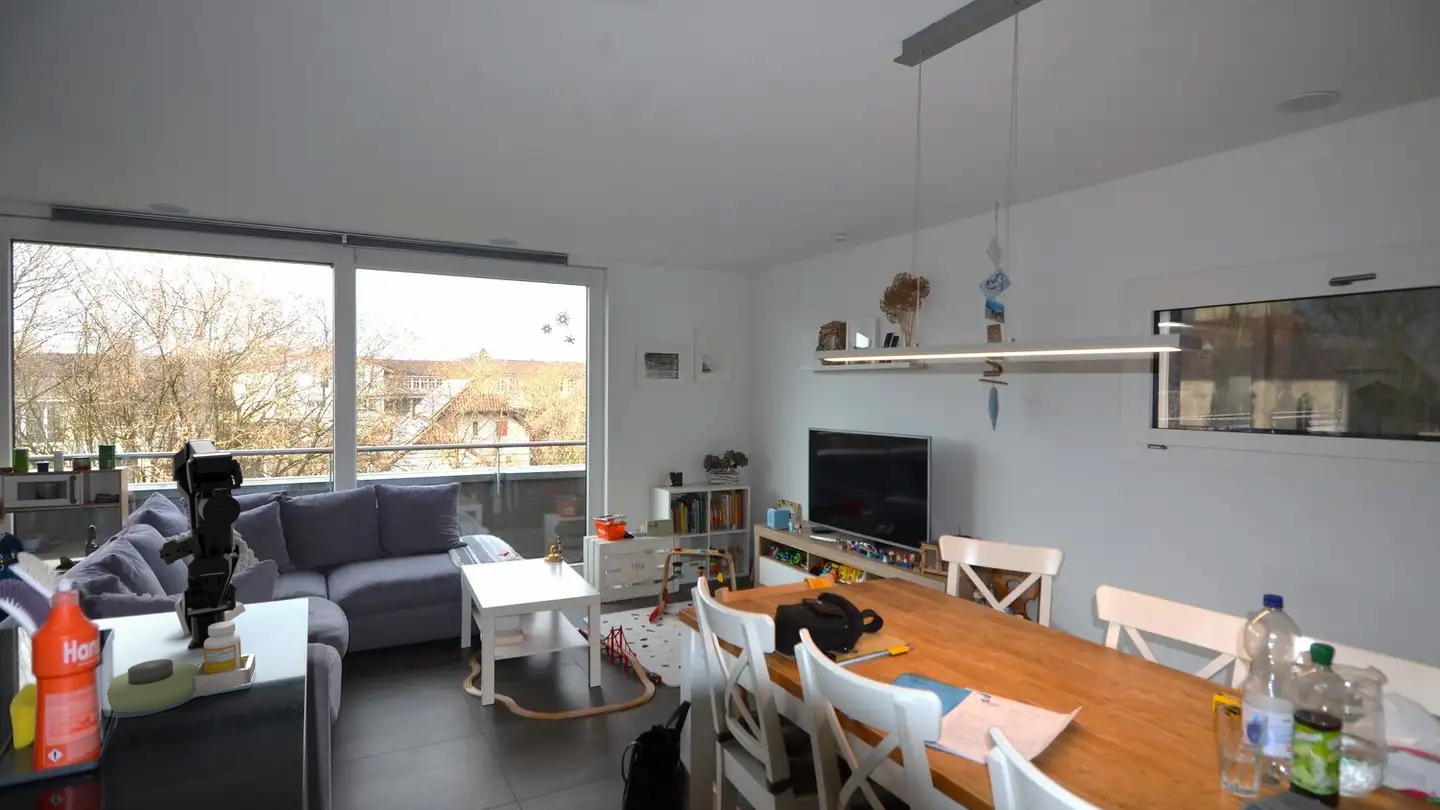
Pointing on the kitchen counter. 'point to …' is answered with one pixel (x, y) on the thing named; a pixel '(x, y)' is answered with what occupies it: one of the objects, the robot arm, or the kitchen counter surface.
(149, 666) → the green base with knob
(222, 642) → the supplement bottle
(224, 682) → the white open tray
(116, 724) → the kitchen counter surface
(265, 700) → the kitchen counter surface
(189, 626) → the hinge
